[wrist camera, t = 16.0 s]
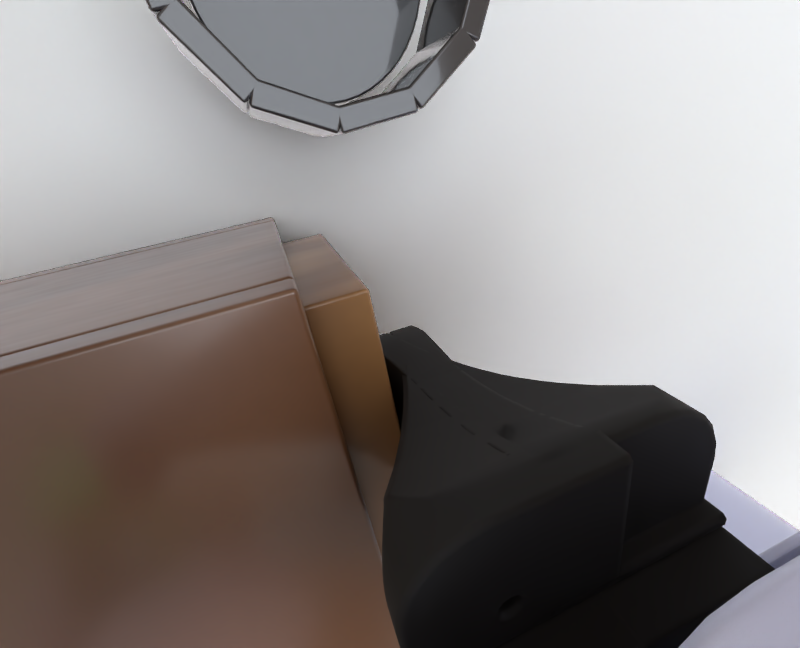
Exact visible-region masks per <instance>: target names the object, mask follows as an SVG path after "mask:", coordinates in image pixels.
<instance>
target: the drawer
mask: <svg viewBox="0 0 800 648" xmlns="http://www.w3.org/2000/svg"><path fill="white" fill-rule="evenodd" d="M282 244H283V247H284V250H285V253H286V256H287V259H288V262H289V265H290V268H291V270H292V273H293V276H294V279H295V282H296V285H297V288H298V291H299V294H300V297H301V300H302V304H303V307H304V310H305V313H306V316H307V320H308V323H309V326H310V329H311V332H312V336H313V339H314V342H315V345H316V348H317V352H318V355H319V358H320V361H321V364H322V368H323V371H324V374H325V377H326V380H327V384H328V387H329V390H330V393H331V396H332V400H333V403H334V406H335V409H336V412H337V416H338V419H339V422H340V425H341V428H342V431H343V435H344V438H345V441H346V444H347V447H348V451H349V454H350V457H351V460H352V463H353V467H354V470H355V473H356V476H357V479H358V483H359V486H360V489H361V492H362V495H363V499H364V502H365V505H366V508H367V511H368V515H369V518H370V521H371V524H372V527H373V531H374V534H375V537H376V540H377V543H378V547H379V550H380V553H381V556H382V532H383V511H384V495H385V492H386V489H387V486H388V483H389V480H390V477H391V474H392V471H393V467H394V463H395V459H396V454H397V450H398V445H399V440H400V434H401V429H400V425H399V420H398V416H397V411H396V407H395V403H394V398H393V394H392V389H391V385H390V380H389V376H388V372H387V367H386V363H385V358H384V354H383V349H382V345H381V341H380V336H379V332H378V327H377V323H376V318H375V314H374V310H373V305H372V301H371V296H370V292H369V290H368V289H367V287H366V286H365V285H364V284H363V283H362V281H361V280H360V279H359V278H358V277H357V276H356V274H355V273H354V272H353V271H352V270H351V269H350V267H349V266H348V265H347V264H346V263H345V261H344V260H343V259H342V258H341V257H340V256H339V254H338V253H337V252H336V251H335V250H334V249H333V247H332V246H331V245H330V244H329V243H328V242H327V240H326V239H325V238H324V237H323V236H322V234H318V235H314V236H310V237H306V238H302V239H298V240H294V241H290V242H286V243H282Z"/></svg>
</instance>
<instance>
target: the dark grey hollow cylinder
mask: <svg viewBox="0 0 800 648" xmlns="http://www.w3.org/2000/svg"><path fill="white" fill-rule="evenodd" d="M145 1H146V3H147V5H148V7H149V9H150V11H151V12H152V13H153V15H154V16H155V18H156V19H157V20H158V22H159V23H160V25H161V26H162V28H163V29H164V30H165V32H166V33H167V35H168V36H169V37H170V39H171V40H172V42H173V43H174V44H175V46H176V47H177V49H178V50H179V51H180V53H181V54H182V55H183V56H184V57H185V58H186V59H188V60H189V61H190V62H191V63H192V64H193V65H194V66H195V67H196V68H197V69H198V70H199V71H200V72H201V73H202V74H203V75H204V76H206V77H207V78H208V79H209V80H210V81H211V82H212V83H213V84H214V85H215V86H216V87H217V88H218V89H219V90H220V91H221V92H222V93H223V94H225V95H226V96H227V97H228V98H229V99H230V100H231V101H232V102H233V103H234V104H235V105H236V106H237V107H238V108H239V109H240V110H241V111H242V112H244V113H248V112H249V114H250V116H251V117H252V118H255V119H259V120H262V121H265V122H269V123H272V124H275V125H279V126H282V127H286V128H289V129H292V130H296V131H299V132H302V133H306V134H309V135H313V136H316V137H322V136H324V137H330V136H335V135H341V134H346V133H349V132H352V131H356V130H359V129H363V128H366V127H369V126H373V125H376V124H380V123H383V122H386V121H390V120H393V119H397V118H400V117H403V116H407V115H410V114H414V113H416V112H417V111H418V109H422V108H424V107H425V105H426V104H427V103H428V102H429V101H430V100H431V98H432V97H433V96H434V95H435V94H436V93H437V91H438V90H439V89H440V88H441V87H442V86H443V84H444V83H445V82H446V81H447V80H448V79H449V77H450V76H451V75H452V74H453V73H454V72H455V71H456V69H457V68H458V67H459V66H460V65H461V64H462V62H463V61H464V60H465V59H466V58H467V57H468V55H469V54H470V53H471V52H472V51H473V50H474V48H475V46H476V44H475V42H477V41H478V40H479V39H480V35H481V31H482V28H483V24H484V20H485V16H486V13H487V9H488V5H489V1H490V0H428V3H427V7H426V12H425V16H424V20H423V25H422V29H421V34H420V38H419V43H418V47H417V51H416V54H415V55H414V56H413V57H412V58H411V59H410V61H409V62H408V63H407V64H406V65H405V67H404V68H403V69H402V70H401V71H400V72H399V74H398V75H397V76H396V77H395V78H394V79H393V81H392V82H391V83H390V84H389V85H388V87H387V88H386V89H385V90H384V91H383V92H382V94H379V95H376V96H372V97H369V98H365V99H361V100H358V101H354V102H351V101H353V100H355V99H357V98H359V97H361V96H363V95H365V94H366V93H368V92H370V91H372V90H373V89H374V88H375V87H377V86H378V85H379V84H381V83H382V82H383V81H384V80H385V79H386V78H387V77H388V76H389V75H390V74H391V73H392V71H393V70H394V68H395V67H396V66H397V64H398V63H399V62H400V60H401V58H402V56H403V55H404V53H405V51H406V49H407V47H408V45H409V42H410V40H411V37H412V35H413V32H414V28H415V25H416V21H417V17H418V11H419V5H420V0H189V2H190V4H191V7H192V9H193V12H194V13H193V12H192V11H191V10H190V9H189V8H188V7H187V6H186V5H185V4H184V3H183V1H182V0H145ZM349 102H351V103H349Z"/></svg>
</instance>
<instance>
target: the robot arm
mask: <svg viewBox="0 0 800 648" xmlns="http://www.w3.org/2000/svg"><path fill="white" fill-rule="evenodd" d="M379 336H380V341H381V345H382V349H383V354H384V358H385V363H386V367H387V372H388V376H389V380H390V385H391V389H392V394H393V398H394V403H395V407H396V411H397V416H398V420H399V425H400V429H401V434H400V440H399V445H398V450H397V454H396V459H395V463H394V467H393V471H392V474H391V477H390V480H389V483H388V486H387V489H386V492H385V495H384V511H383V532H382V573H383V585H384V592H385V597H386V602H387V606H388V609H389V613H390V616H391V620H392V623H393V626H394V630H395V633H396V636H397V639H398V643H399V646H400V648H800V531H799V530H798V529H796V528H795V527H794V526H792V525H791V524H789V523H788V522H786V521H785V520H783V519H782V518H781V517H779V516H778V515H776V514H775V513H773V512H772V511H770V510H769V509H768V508H766V507H765V506H763V505H762V504H760V503H759V502H757V501H756V500H755V499H753V498H752V497H750V496H749V495H747V494H746V493H744V492H743V491H742V490H740V489H739V488H737V487H736V486H734V485H733V484H731V483H730V482H729V481H727V480H726V479H724V478H723V477H721V476H720V475H718V474H717V473H715V472H714V471H713V470H711V469H712V465H713V461H714V457H715V448H716V440H715V435H714V430H713V426H712V424H711V422H710V421H709V420H708V419H707V418H706V416H705V415H704V414H702V413H700V412H699V411H697V410H695V409H693V408H692V407H690V406H688V405H687V404H685V403H683V402H682V401H680V400H678V399H676V398H675V397H673V396H671V395H670V394H668V393H666V392H664V391H663V390H661V389H659V388H658V387H656V386H654V385H582V384H567V383H555V382H545V381H537V380H531V379H524V378H518V377H512V376H507V375H501V374H497V373H493V372H489V371H485V370H481V369H477V368H473V367H470V366H466V365H463V364H460V363H457V362H454V361H452V360H451V359H450V358H449V357H448V356H447V355H446V354H445V353H444V352H443V351H442V350H441V349H440V348H439V346H438V345H437V344H436V343H435V342H434V341H433V340H432V339H431V338H430V337H429V336H428V335H427V334H426V333H425V332H424V331H422V330H421V329H419V328H417V327H414V326H408V327H405V328H402V329H398V330H395V331H392V332H390V334H388V333H386V334H383V335H379Z"/></svg>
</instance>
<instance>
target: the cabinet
mask: <svg viewBox="0 0 800 648" xmlns="http://www.w3.org/2000/svg"><path fill="white" fill-rule="evenodd" d="M0 648H400V646H399V643H398V639H397V636H396V633H395V630H394V626H393V623H392V620H391V616H390V613H389V609H388V606H387V602H386V597H385V592H384V585H383V573H382V556H381V553H380V550H379V547H378V543H377V540H376V537H375V534H374V531H373V527H372V524H371V521H370V518H369V515H368V511H367V508H366V505H365V502H364V499H363V495H362V492H361V489H360V486H359V483H358V479H357V476H356V473H355V470H354V467H353V463H352V460H351V457H350V454H349V451H348V447H347V444H346V441H345V438H344V435H343V431H342V428H341V425H340V422H339V419H338V416H337V412H336V409H335V406H334V403H333V400H332V396H331V393H330V390H329V387H328V384H327V380H326V377H325V374H324V371H323V368H322V364H321V361H320V358H319V355H318V352H317V348H316V345H315V342H314V339H313V336H312V332H311V329H310V326H309V323H308V320H307V316H306V313H305V310H304V307H303V304H302V300H301V297H300V294H299V291H298V288H297V285H296V282H295V279H294V276H293V273H292V270H291V268H290V265H289V262H288V259H287V256H286V253H285V250H284V247H283V244H282V241H281V238H280V236H279V233H278V230H277V227H276V224H275V221H274V219H273V218H267V219H263V220H258V221H254V222H250V223H246V224H241V225H237V226H233V227H229V228H224V229H220V230H216V231H212V232H207V233H203V234H199V235H195V236H190V237H186V238H182V239H178V240H173V241H169V242H165V243H161V244H156V245H152V246H148V247H144V248H139V249H135V250H131V251H127V252H122V253H118V254H114V255H110V256H105V257H101V258H97V259H93V260H88V261H84V262H80V263H76V264H71V265H67V266H63V267H59V268H54V269H50V270H46V271H42V272H37V273H33V274H29V275H25V276H20V277H16V278H12V279H8V280H4V281H0Z"/></svg>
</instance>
